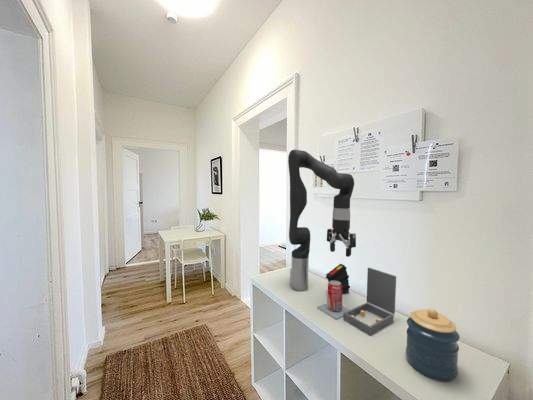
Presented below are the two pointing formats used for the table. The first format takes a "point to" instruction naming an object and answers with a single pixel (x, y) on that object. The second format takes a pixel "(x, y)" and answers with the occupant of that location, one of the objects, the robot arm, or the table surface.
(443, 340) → the canister
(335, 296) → the beverage can
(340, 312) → the rubber mat
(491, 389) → the table surface
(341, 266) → the magazine
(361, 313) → the case
